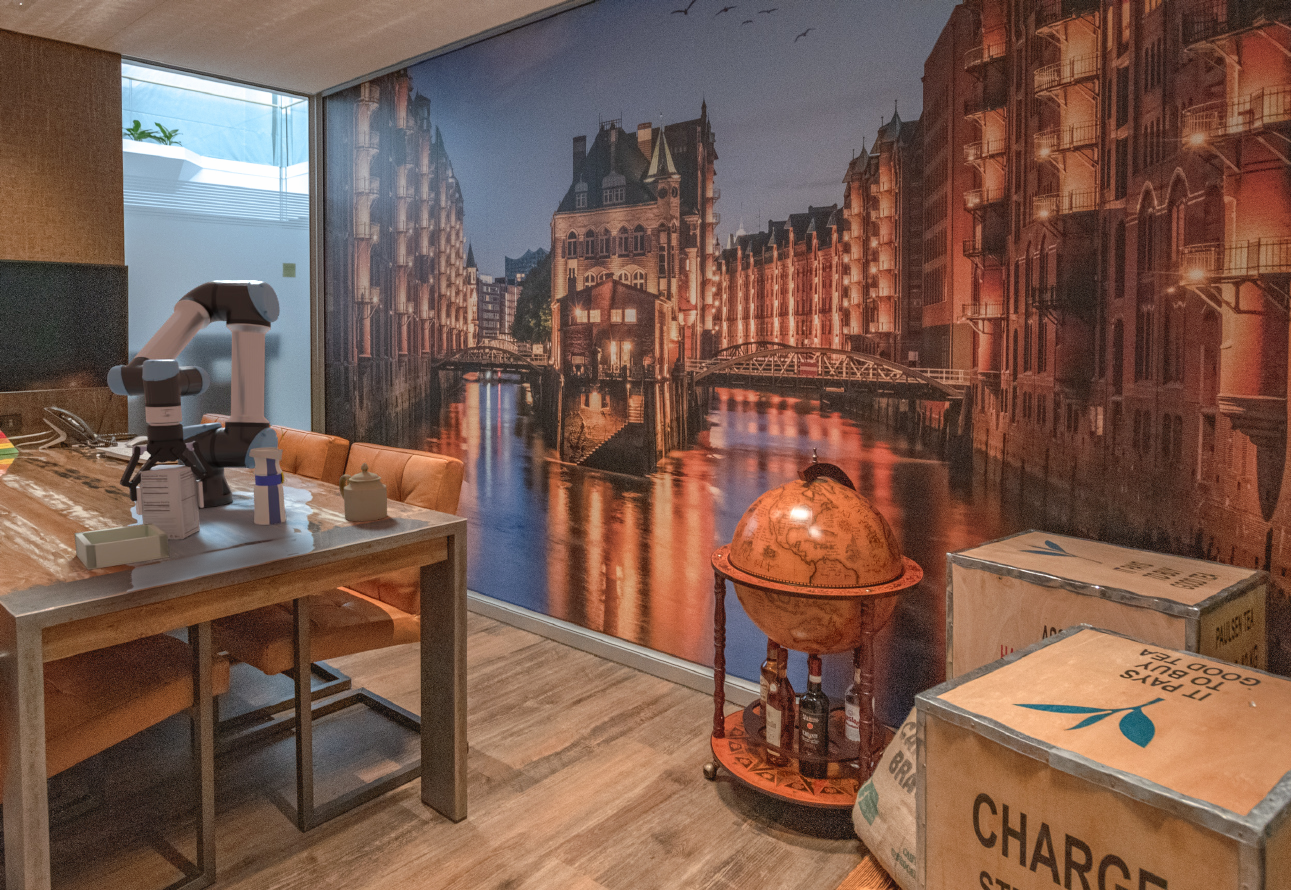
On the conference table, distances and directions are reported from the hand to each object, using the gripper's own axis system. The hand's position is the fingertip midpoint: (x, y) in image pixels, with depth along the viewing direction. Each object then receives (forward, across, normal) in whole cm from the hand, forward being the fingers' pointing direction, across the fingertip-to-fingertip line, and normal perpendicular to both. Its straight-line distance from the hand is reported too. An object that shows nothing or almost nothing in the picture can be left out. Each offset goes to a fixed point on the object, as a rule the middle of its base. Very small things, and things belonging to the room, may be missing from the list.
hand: (170, 510), depth 197 cm
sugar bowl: (+6, +43, -10) cm, 45 cm away
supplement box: (+6, 0, 0) cm, 6 cm away
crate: (+6, -13, -14) cm, 20 cm away
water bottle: (+6, +23, 0) cm, 24 cm away
